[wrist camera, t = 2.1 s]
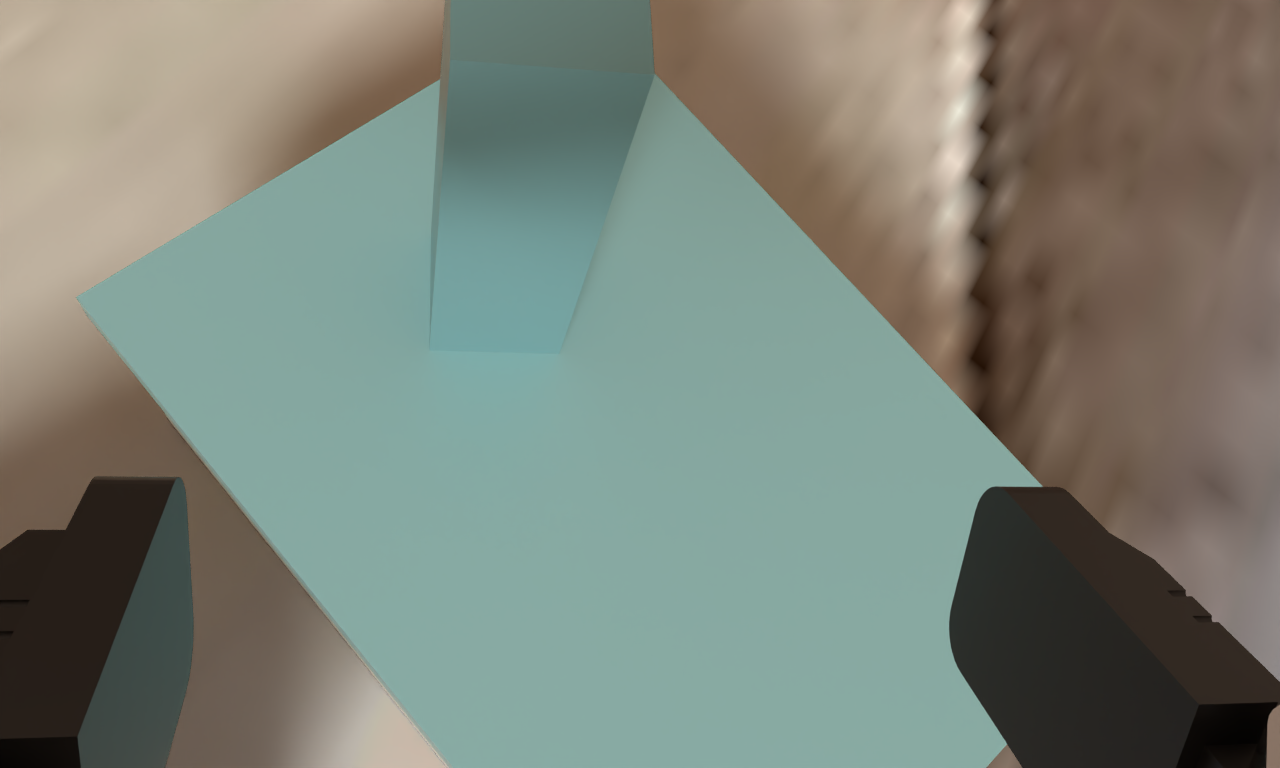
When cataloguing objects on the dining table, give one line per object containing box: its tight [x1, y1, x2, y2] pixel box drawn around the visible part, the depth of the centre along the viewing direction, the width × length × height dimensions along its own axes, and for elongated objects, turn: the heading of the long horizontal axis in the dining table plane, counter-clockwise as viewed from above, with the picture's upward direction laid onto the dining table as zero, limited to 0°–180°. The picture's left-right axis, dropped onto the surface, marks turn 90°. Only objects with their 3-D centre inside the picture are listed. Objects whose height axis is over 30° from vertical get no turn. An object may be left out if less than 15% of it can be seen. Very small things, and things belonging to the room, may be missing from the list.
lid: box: [76, 0, 1042, 768], centre depth 22 cm, size 21×15×12 cm
